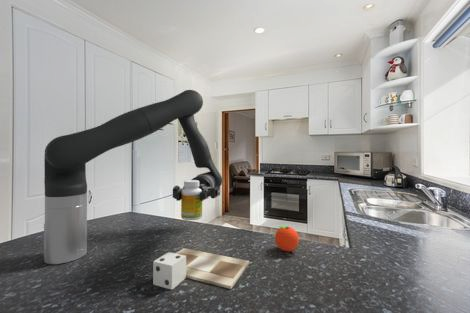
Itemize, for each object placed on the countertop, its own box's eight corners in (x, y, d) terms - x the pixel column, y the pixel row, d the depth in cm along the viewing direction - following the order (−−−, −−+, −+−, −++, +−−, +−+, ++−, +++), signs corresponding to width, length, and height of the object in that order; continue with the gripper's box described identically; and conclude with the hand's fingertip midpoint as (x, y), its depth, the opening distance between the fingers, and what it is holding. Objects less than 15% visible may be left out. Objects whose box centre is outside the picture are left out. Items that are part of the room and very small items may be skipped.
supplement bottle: (197, 221, 54) (197, 182, 54) (177, 220, 55) (177, 181, 55) (204, 215, 59) (204, 179, 59) (186, 214, 60) (186, 179, 60)
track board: (154, 269, 53) (154, 266, 53) (183, 250, 65) (183, 247, 65) (231, 289, 46) (231, 285, 46) (249, 263, 57) (249, 260, 57)
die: (152, 284, 47) (153, 261, 47) (168, 273, 52) (168, 251, 52) (171, 290, 45) (171, 265, 45) (186, 277, 50) (186, 255, 50)
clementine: (267, 251, 64) (268, 226, 64) (276, 243, 70) (276, 221, 70) (294, 257, 60) (295, 231, 60) (301, 248, 66) (301, 225, 66)
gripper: (179, 175, 72) (161, 181, 55) (223, 175, 71) (218, 182, 54) (179, 198, 72) (161, 211, 55) (223, 198, 71) (218, 212, 54)
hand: (189, 196), depth 55 cm, fingers closed on supplement bottle, 5 cm apart
